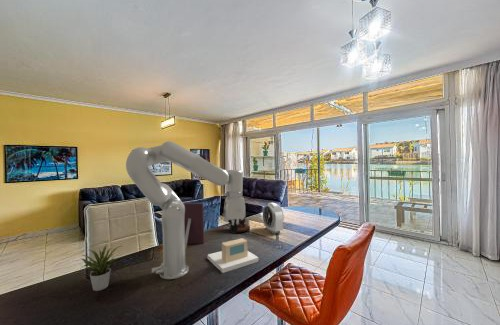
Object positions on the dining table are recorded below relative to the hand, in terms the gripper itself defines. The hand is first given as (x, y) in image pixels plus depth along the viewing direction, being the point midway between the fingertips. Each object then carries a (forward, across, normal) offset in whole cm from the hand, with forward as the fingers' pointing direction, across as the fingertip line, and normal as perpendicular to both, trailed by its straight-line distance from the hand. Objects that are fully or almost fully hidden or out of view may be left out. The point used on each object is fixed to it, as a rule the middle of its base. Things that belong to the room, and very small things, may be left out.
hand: (233, 232), depth 107 cm
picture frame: (+17, -12, +36) cm, 42 cm away
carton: (+10, +2, +5) cm, 11 cm away
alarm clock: (+15, +47, +30) cm, 58 cm away
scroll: (+15, +28, +45) cm, 55 cm away
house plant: (+18, -53, +13) cm, 58 cm away
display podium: (+16, +2, +5) cm, 17 cm away
